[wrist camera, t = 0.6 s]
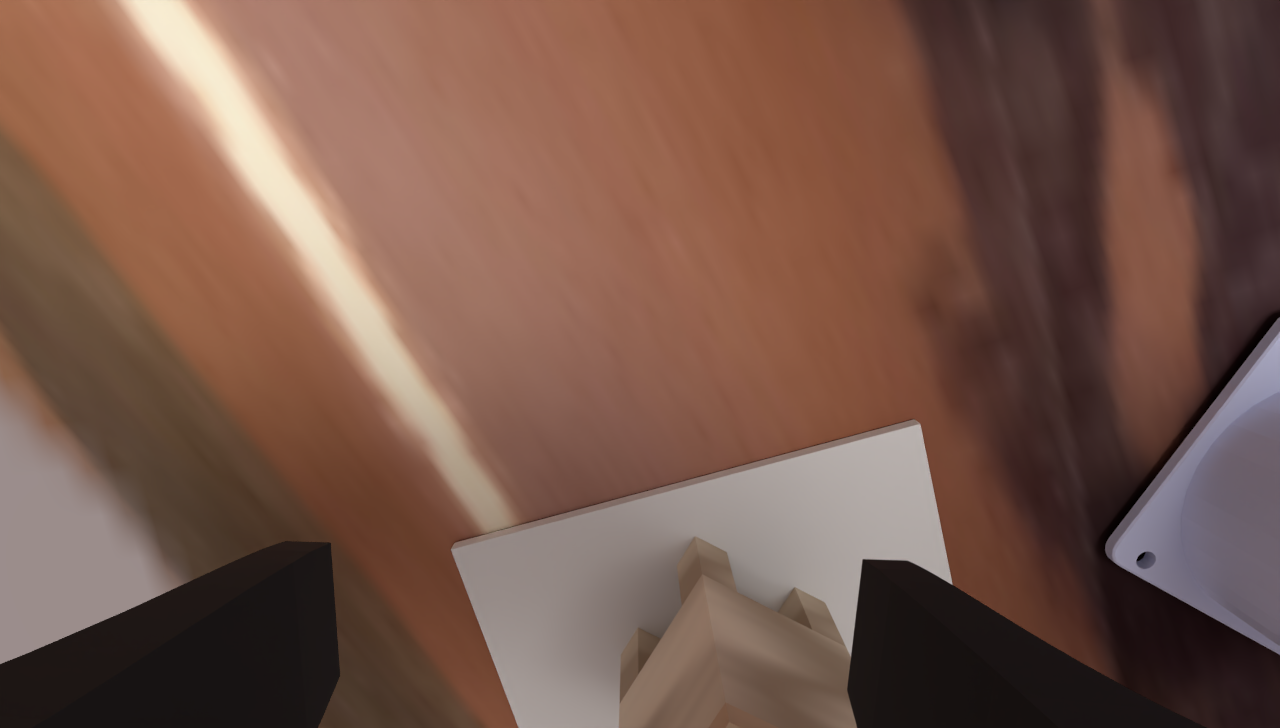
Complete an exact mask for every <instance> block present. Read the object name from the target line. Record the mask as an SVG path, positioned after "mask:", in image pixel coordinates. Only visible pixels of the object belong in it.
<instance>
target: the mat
mask: <svg viewBox="0 0 1280 728" xmlns="http://www.w3.org/2000/svg"><path fill="white" fill-rule="evenodd" d="M695 536H696V537H698V538H700V539H702V540H704V541H706V542H708V543H710V544H712V545H714V546H716V547H718V548H720V549H722V550H723V551H725V552H727V555H728V559H729V563H730V567H731V570H732V574H733V578H734V582H735V586H736V589H737V592H738V593H740V594H742V595H744V596H746V597H748V598H750V599H752V600H754V601H756V602H758V603H760V604H762V605H764V606H766V607H768V608H770V609H772V610H774V611H776V612H778V611H779V610H780V608H781V607H782V605H783V604H784V602H785V601H786V599H787V598H788V596H789V595H790V593H791V592H792V590H793V589H794V587H796V588H798V589H800V590H802V591H804V592H806V593H808V594H809V595H811V596H813V597H815V598H817V599H819V600H821V601H823V602H825V603H826V605H827V608H828V610H829V612H830V614H831V616H832V618H833V620H834V622H835V625H836V627H837V629H838V631H839V633H840V635H841V637H842V639H843V641H844V644H845V646H846V648H847V650H848V652H849V654H850V656H851V652H852V644H853V635H854V627H855V619H856V610H857V602H858V593H859V585H860V577H861V568H862V560H863V559H875V560H907V561H910V562H912V563H914V564H916V565H918V566H920V567H922V568H924V569H926V570H928V571H929V572H931V573H933V574H935V575H936V576H938V577H940V578H941V579H943V580H945V581H947V582H948V583H950V584H952V579H951V574H950V569H949V564H948V560H947V555H946V550H945V545H944V540H943V535H942V530H941V525H940V520H939V515H938V510H937V505H936V500H935V495H934V490H933V485H932V480H931V475H930V470H929V465H928V460H927V455H926V450H925V445H924V440H923V435H922V430H921V425H920V423H919V422H917V421H916V420H915V419H913V420H909V421H906V422H902V423H898V424H895V425H891V426H887V427H883V428H880V429H876V430H872V431H869V432H865V433H861V434H857V435H854V436H850V437H846V438H842V439H839V440H835V441H831V442H828V443H824V444H820V445H816V446H813V447H809V448H805V449H801V450H798V451H794V452H790V453H787V454H783V455H779V456H775V457H772V458H768V459H764V460H761V461H757V462H753V463H749V464H746V465H742V466H738V467H734V468H731V469H727V470H723V471H720V472H716V473H712V474H708V475H705V476H701V477H697V478H693V479H690V480H686V481H682V482H679V483H675V484H671V485H667V486H664V487H660V488H656V489H653V490H649V491H645V492H641V493H638V494H634V495H630V496H626V497H623V498H619V499H615V500H612V501H608V502H604V503H600V504H597V505H593V506H589V507H585V508H582V509H578V510H574V511H571V512H567V513H563V514H559V515H556V516H552V517H548V518H545V519H541V520H537V521H533V522H530V523H526V524H522V525H518V526H515V527H511V528H507V529H504V530H500V531H496V532H492V533H489V534H485V535H481V536H477V537H474V538H470V539H466V540H463V541H459V542H455V543H454V544H453V546H452V548H451V551H452V554H453V557H454V559H455V562H456V565H457V567H458V570H459V572H460V575H461V578H462V580H463V583H464V586H465V588H466V591H467V593H468V596H469V599H470V601H471V604H472V607H473V609H474V612H475V614H476V617H477V620H478V622H479V625H480V628H481V630H482V633H483V635H484V638H485V641H486V643H487V646H488V649H489V651H490V654H491V656H492V659H493V662H494V664H495V667H496V670H497V672H498V675H499V677H500V680H501V683H502V685H503V688H504V691H505V693H506V696H507V698H508V701H509V704H510V706H511V709H512V712H513V714H514V717H515V720H516V722H517V725H518V727H519V728H619V705H620V666H621V654H622V652H623V651H624V649H625V647H626V646H627V644H628V643H629V641H630V639H631V638H632V636H633V635H634V633H635V631H636V630H637V628H640V629H642V630H644V631H646V632H648V633H650V634H652V635H654V636H657V637H659V638H662V637H663V635H664V633H665V632H666V630H667V629H668V627H669V626H670V624H671V622H672V621H673V619H674V618H675V616H676V615H677V613H678V611H679V610H680V608H681V607H682V604H681V596H680V587H679V579H678V570H677V564H678V563H679V561H680V559H681V558H682V556H683V555H684V553H685V551H686V550H687V548H688V547H689V545H690V543H691V542H692V540H693V539H694V537H695ZM952 585H953V584H952Z"/></svg>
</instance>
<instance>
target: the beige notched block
mask: <svg viewBox="0 0 1280 728" xmlns="http://www.w3.org/2000/svg"><path fill="white" fill-rule="evenodd" d="M677 570H678V579H679V587H680V596H681V604H682V607H681V608H680V610H679V611H678V613H677V615H676V616H675V618H674V619H673V621H672V622H671V624H670V626H669V627H668V629H667V630H666V632H665V633H664V635H663V637H662V638H659V637H657V636H654V635H652V634H650V633H648V632H646V631H644V630H642V629H640V628H637V630H636V631H635V633H634V635H633V636H632V638H631V639H630V641H629V643H628V644H627V646H626V647H625V649H624V651H623V652H622V654H621V666H620V705H619V728H857V725H856V722H855V718H854V714H853V711H852V707H851V703H850V699H849V696H848V692H847V686H848V677H849V669H850V661H851V656H850V654H849V652H848V650H847V648H846V646H845V644H844V641H843V639H842V637H841V635H840V633H839V631H838V629H837V627H836V625H835V622H834V620H833V618H832V616H831V614H830V612H829V610H828V608H827V605H826V603H825V602H823V601H821V600H819V599H817V598H815V597H813V596H811V595H809V594H808V593H806V592H804V591H802V590H800V589H798V588H796V587H794V589H793V590H792V592H791V593H790V595H789V596H788V598H787V599H786V601H785V602H784V604H783V605H782V607H781V608H780V610H779V611H778V612H776V611H774V610H772V609H770V608H768V607H766V606H764V605H762V604H760V603H758V602H756V601H754V600H752V599H750V598H748V597H746V596H744V595H742V594H740V593H738V592H737V589H736V586H735V582H734V578H733V574H732V570H731V567H730V563H729V559H728V555H727V552H725V551H723V550H722V549H720V548H718V547H716V546H714V545H712V544H710V543H708V542H706V541H704V540H702V539H700V538H698V537H696V536H695V537H694V539H693V540H692V542H691V543H690V545H689V547H688V548H687V550H686V551H685V553H684V555H683V556H682V558H681V559H680V561H679V563H678V564H677Z"/></svg>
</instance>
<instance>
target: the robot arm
mask: <svg viewBox="0 0 1280 728" xmlns="http://www.w3.org/2000/svg"><path fill="white" fill-rule="evenodd" d="M1105 552H1106V555H1107V557H1108V558H1110V559H1111V560H1112V561H1113V562H1114V563H1116V564H1117V565H1118V566H1120V567H1122V568H1124V569H1125V570H1127V571H1129V572H1131V573H1133V574H1134V575H1136V576H1138V577H1140V578H1142V579H1143V580H1145V581H1147V582H1149V583H1151V584H1153V585H1154V586H1156V587H1158V588H1160V589H1162V590H1163V591H1165V592H1167V593H1169V594H1171V595H1172V596H1174V597H1176V598H1178V599H1180V600H1182V601H1183V602H1185V603H1187V604H1189V605H1191V606H1192V607H1194V608H1196V609H1198V610H1200V611H1201V612H1203V613H1205V614H1207V615H1209V616H1210V617H1212V618H1214V619H1216V620H1218V621H1220V622H1221V623H1223V624H1225V625H1227V626H1229V627H1230V628H1232V629H1234V630H1236V631H1238V632H1239V633H1241V634H1243V635H1245V636H1247V637H1249V638H1250V639H1252V640H1254V641H1256V642H1258V643H1259V644H1261V645H1263V646H1265V647H1267V648H1268V649H1270V650H1272V651H1274V652H1276V653H1277V654H1279V655H1280V317H1279V318H1278V319H1277V320H1276V322H1275V323H1274V324H1273V325H1272V327H1271V328H1270V329H1269V331H1268V332H1267V333H1266V335H1265V336H1264V337H1263V338H1262V340H1261V341H1260V342H1259V344H1258V345H1257V346H1256V348H1255V349H1254V350H1253V351H1252V353H1251V354H1250V355H1249V357H1248V358H1247V359H1246V361H1245V362H1244V363H1243V364H1242V366H1241V367H1240V368H1239V370H1238V371H1237V372H1236V374H1235V375H1234V376H1233V377H1232V379H1231V380H1230V381H1229V383H1228V384H1227V385H1226V386H1225V388H1224V389H1223V390H1222V392H1221V393H1220V394H1219V396H1218V397H1217V398H1216V399H1215V401H1214V402H1213V403H1212V405H1211V406H1210V407H1209V409H1208V410H1207V411H1206V412H1205V414H1204V415H1203V416H1202V418H1201V419H1200V420H1199V422H1198V423H1197V424H1196V425H1195V427H1194V428H1193V429H1192V431H1191V432H1190V433H1189V435H1188V436H1187V437H1186V438H1185V440H1184V441H1183V442H1182V444H1181V445H1180V446H1179V448H1178V449H1177V450H1176V451H1175V453H1174V454H1173V455H1172V457H1171V458H1170V459H1169V461H1168V462H1167V463H1166V464H1165V466H1164V467H1163V468H1162V470H1161V471H1160V472H1159V474H1158V475H1157V476H1156V477H1155V479H1154V480H1153V481H1152V483H1151V484H1150V485H1149V486H1148V488H1147V489H1146V490H1145V492H1144V493H1143V494H1142V496H1141V497H1140V498H1139V499H1138V501H1137V502H1136V503H1135V505H1134V506H1133V507H1132V509H1131V510H1130V511H1129V512H1128V514H1127V515H1126V516H1125V518H1124V519H1123V520H1122V522H1121V523H1120V524H1119V525H1118V527H1117V528H1116V529H1115V531H1114V532H1113V533H1112V535H1111V536H1110V537H1109V539H1108V540H1107V542H1106V545H1105ZM1143 552H1146V553H1145V555H1144V558H1142V559H1141V560H1140V561H1136V560H1137V558H1138V556H1139V555H1140V554H1141V553H1143ZM339 677H340V669H339V655H338V641H337V626H336V612H335V598H334V584H333V570H332V556H331V543H323V542H290V541H285V542H282V543H279V544H276V545H273V546H270V547H267V548H264V549H262V550H259V551H257V552H255V553H252V554H250V555H247V556H245V557H243V558H240V559H238V560H236V561H234V562H231V563H229V564H227V565H225V566H223V567H220V568H218V569H216V570H214V571H212V572H210V573H207V574H205V575H203V576H201V577H199V578H197V579H194V580H192V581H190V582H188V583H186V584H184V585H181V586H179V587H177V588H175V589H173V590H171V591H168V592H166V593H164V594H162V595H160V596H158V597H155V598H153V599H151V600H149V601H147V602H145V603H142V604H140V605H138V606H136V607H134V608H132V609H129V610H127V611H125V612H123V613H120V614H118V615H116V616H113V617H111V618H109V619H106V620H104V621H102V622H99V623H97V624H95V625H93V626H90V627H88V628H85V629H83V630H81V631H78V632H76V633H74V634H72V635H69V636H67V637H65V638H62V639H60V640H58V641H55V642H53V643H51V644H48V645H46V646H44V647H41V648H39V649H37V650H34V651H32V652H30V653H27V654H25V655H22V656H20V657H17V658H15V659H12V660H10V661H7V662H5V663H2V664H0V728H318V726H319V724H320V722H321V719H322V717H323V715H324V713H325V710H326V708H327V705H328V703H329V701H330V698H331V696H332V694H333V691H334V689H335V686H336V684H337V682H338V679H339ZM847 692H848V696H849V699H850V703H851V707H852V711H853V714H854V718H855V722H856V725H857V728H1206V727H1204V726H1202V725H1200V724H1198V723H1195V722H1193V721H1191V720H1189V719H1187V718H1185V717H1183V716H1181V715H1179V714H1177V713H1174V712H1172V711H1170V710H1168V709H1166V708H1165V707H1163V706H1161V705H1159V704H1157V703H1155V702H1153V701H1151V700H1149V699H1147V698H1145V697H1143V696H1141V695H1139V694H1137V693H1135V692H1134V691H1132V690H1130V689H1128V688H1126V687H1124V686H1123V685H1121V684H1119V683H1117V682H1115V681H1114V680H1112V679H1110V678H1108V677H1106V676H1104V675H1103V674H1101V673H1099V672H1097V671H1095V670H1094V669H1092V668H1090V667H1088V666H1086V665H1084V664H1083V663H1081V662H1079V661H1077V660H1076V659H1074V658H1072V657H1070V656H1069V655H1067V654H1065V653H1064V652H1062V651H1060V650H1058V649H1057V648H1055V647H1053V646H1051V645H1050V644H1048V643H1046V642H1045V641H1043V640H1041V639H1040V638H1038V637H1036V636H1035V635H1033V634H1031V633H1030V632H1028V631H1026V630H1025V629H1023V628H1021V627H1020V626H1018V625H1017V624H1015V623H1013V622H1012V621H1010V620H1008V619H1007V618H1005V617H1003V616H1002V615H1000V614H999V613H997V612H995V611H994V610H992V609H990V608H989V607H987V606H986V605H984V604H982V603H981V602H979V601H978V600H976V599H974V598H973V597H971V596H969V595H968V594H966V593H965V592H963V591H961V590H960V589H958V588H956V587H955V586H953V585H952V584H950V583H948V582H947V581H945V580H943V579H941V578H940V577H938V576H936V575H935V574H933V573H931V572H929V571H928V570H926V569H924V568H922V567H920V566H918V565H916V564H914V563H912V562H910V561H907V560H875V559H863V560H862V568H861V577H860V585H859V593H858V602H857V610H856V619H855V627H854V635H853V644H852V652H851V661H850V669H849V677H848V686H847Z"/></svg>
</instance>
